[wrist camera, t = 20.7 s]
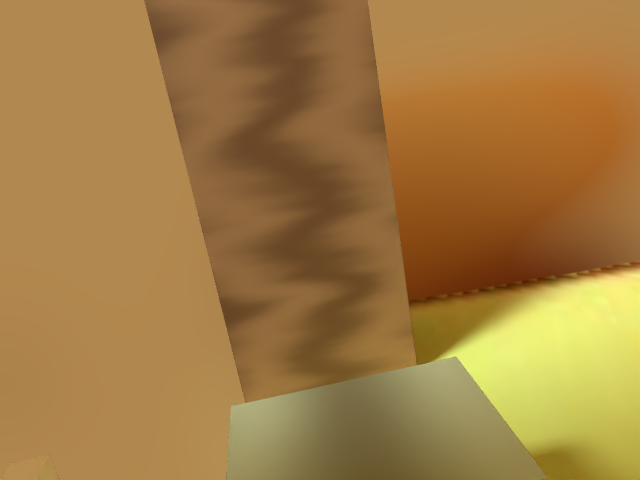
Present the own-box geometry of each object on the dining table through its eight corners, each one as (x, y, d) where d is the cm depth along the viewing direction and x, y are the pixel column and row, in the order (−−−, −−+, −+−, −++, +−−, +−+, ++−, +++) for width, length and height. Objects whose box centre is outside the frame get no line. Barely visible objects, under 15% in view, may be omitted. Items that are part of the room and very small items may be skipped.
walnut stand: (247, 409, 30) (86, -229, 21) (248, 354, 36) (125, -155, 27) (417, 371, 30) (331, -262, 22) (389, 323, 36) (314, -183, 28)
